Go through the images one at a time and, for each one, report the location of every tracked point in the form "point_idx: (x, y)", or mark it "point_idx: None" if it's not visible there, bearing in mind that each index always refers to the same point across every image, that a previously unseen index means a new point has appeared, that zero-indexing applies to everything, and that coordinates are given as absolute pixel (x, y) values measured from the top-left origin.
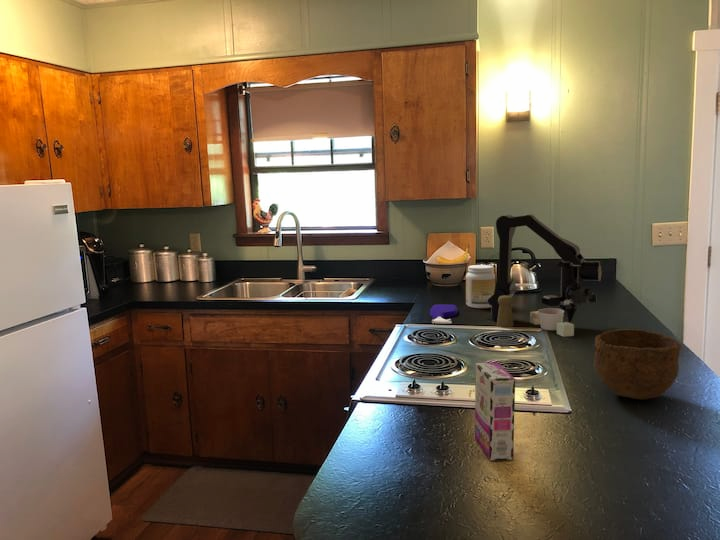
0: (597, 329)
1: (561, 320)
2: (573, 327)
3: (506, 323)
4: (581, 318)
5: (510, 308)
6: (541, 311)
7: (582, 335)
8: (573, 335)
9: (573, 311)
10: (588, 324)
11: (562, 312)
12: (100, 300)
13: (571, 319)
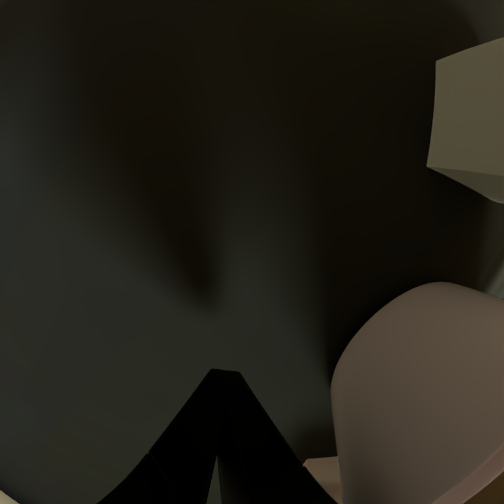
0: (36, 124)
1: (478, 321)
2: (494, 44)
3: None
4: (24, 417)
5: (501, 484)
6: (437, 501)
7: (363, 9)
8: (439, 61)
9: (165, 500)
10: (16, 313)
11: (395, 489)
12: None
13: (203, 391)
